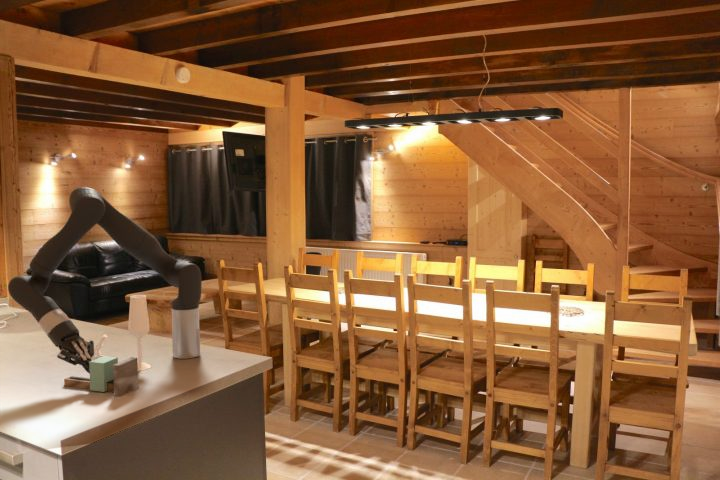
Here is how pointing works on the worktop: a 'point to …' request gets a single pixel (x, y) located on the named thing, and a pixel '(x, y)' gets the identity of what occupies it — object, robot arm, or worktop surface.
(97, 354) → the white vr controller
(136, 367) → the rail
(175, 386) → the worktop surface
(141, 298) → the champagne flute
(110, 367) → the block
